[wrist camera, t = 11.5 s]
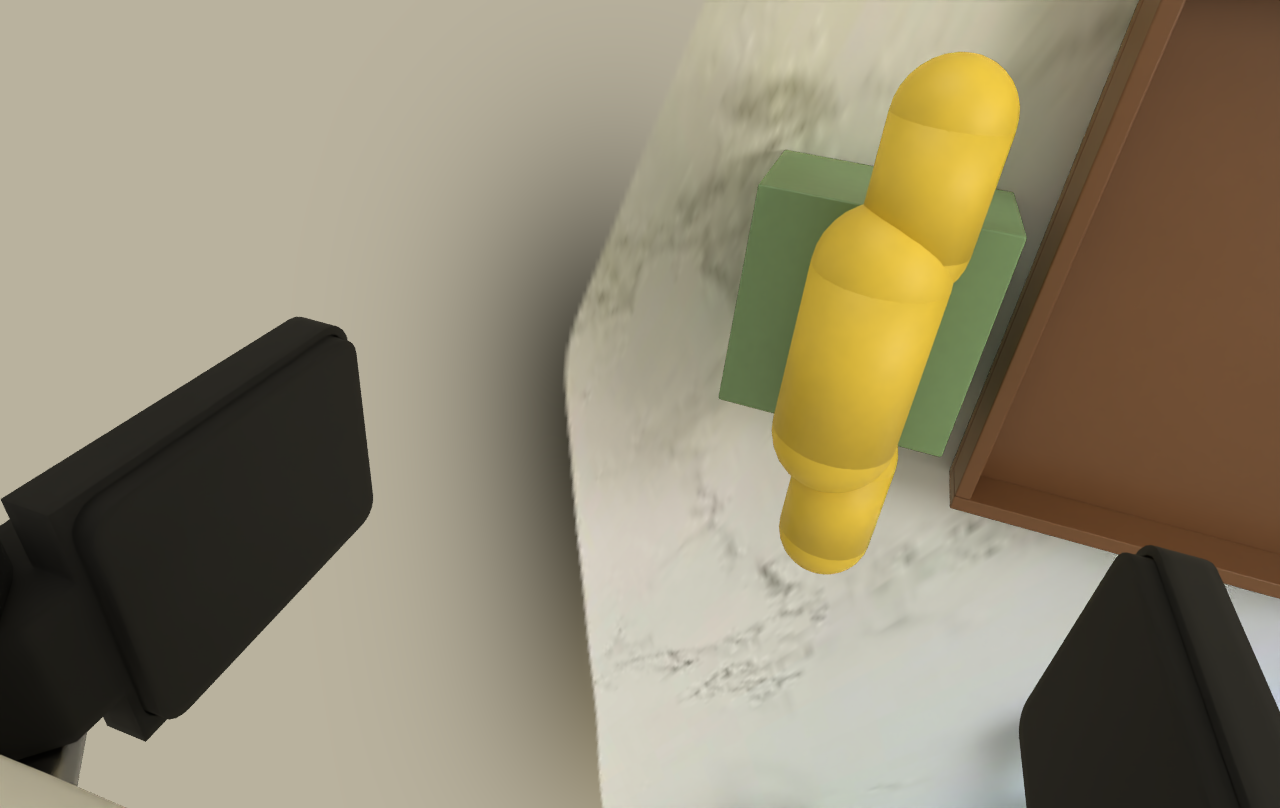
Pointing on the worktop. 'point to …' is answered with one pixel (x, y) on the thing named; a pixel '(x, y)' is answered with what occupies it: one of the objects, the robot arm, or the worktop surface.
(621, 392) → the worktop surface
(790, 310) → the block
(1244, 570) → the tray
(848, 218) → the yellow stacked capsules
